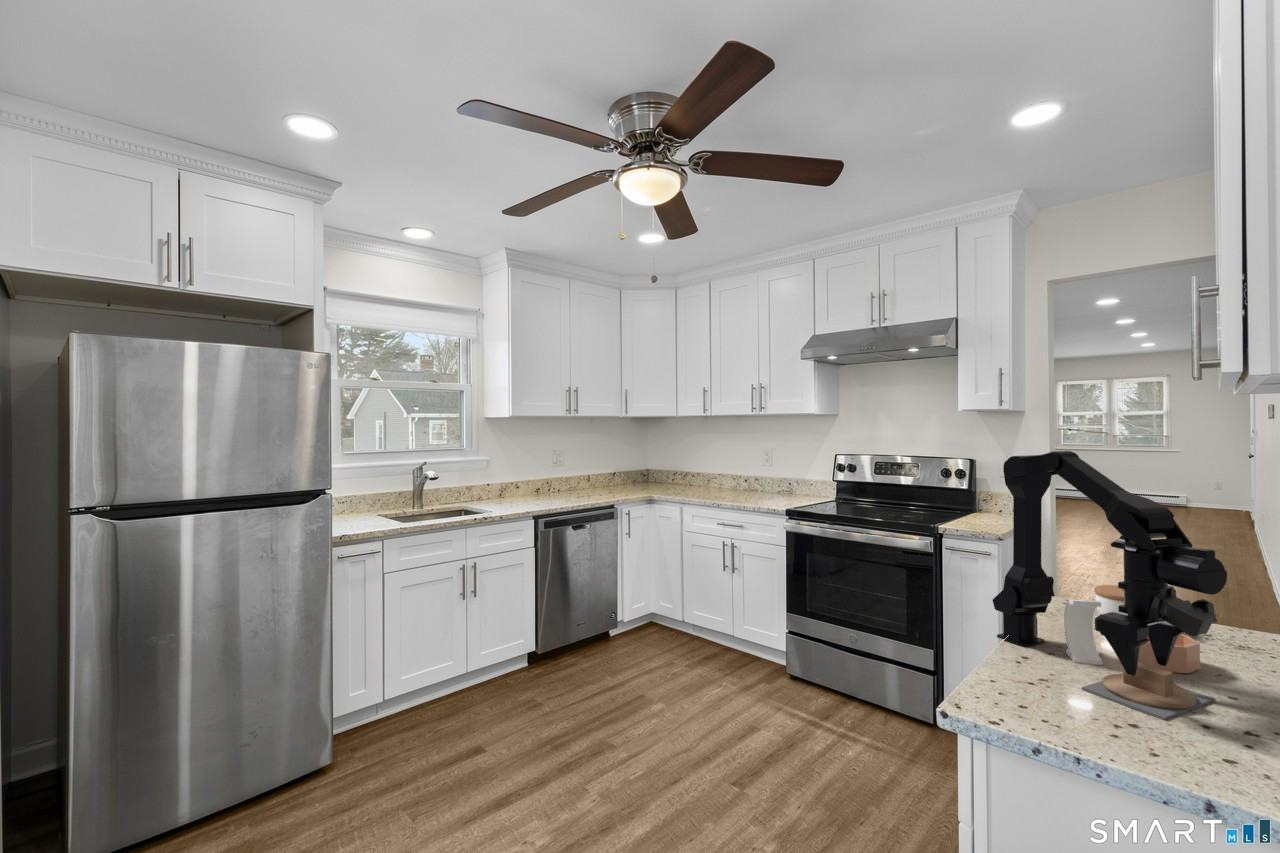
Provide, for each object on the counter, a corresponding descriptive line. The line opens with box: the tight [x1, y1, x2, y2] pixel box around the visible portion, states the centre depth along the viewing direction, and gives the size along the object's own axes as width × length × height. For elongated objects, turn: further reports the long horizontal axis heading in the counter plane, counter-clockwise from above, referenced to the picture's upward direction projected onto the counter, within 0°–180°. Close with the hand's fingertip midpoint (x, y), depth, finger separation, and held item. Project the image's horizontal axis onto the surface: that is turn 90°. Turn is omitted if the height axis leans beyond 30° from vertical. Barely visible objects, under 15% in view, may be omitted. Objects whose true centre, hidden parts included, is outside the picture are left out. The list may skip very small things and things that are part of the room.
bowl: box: [1138, 633, 1201, 674], centre depth 115 cm, size 11×11×5 cm
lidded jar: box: [1094, 584, 1128, 616], centre depth 136 cm, size 11×11×9 cm
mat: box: [1081, 680, 1216, 721], centre depth 102 cm, size 15×12×1 cm
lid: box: [1102, 662, 1196, 710], centre depth 102 cm, size 12×12×4 cm
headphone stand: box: [1063, 598, 1103, 666], centre depth 118 cm, size 5×6×12 cm
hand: (1146, 669), depth 102 cm, fingers open, 9 cm apart
